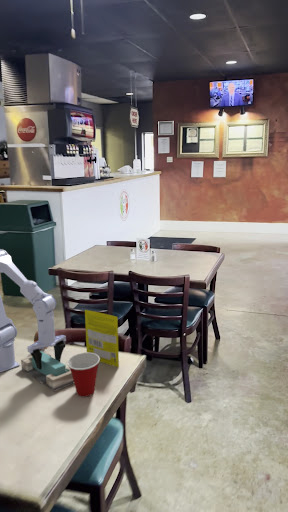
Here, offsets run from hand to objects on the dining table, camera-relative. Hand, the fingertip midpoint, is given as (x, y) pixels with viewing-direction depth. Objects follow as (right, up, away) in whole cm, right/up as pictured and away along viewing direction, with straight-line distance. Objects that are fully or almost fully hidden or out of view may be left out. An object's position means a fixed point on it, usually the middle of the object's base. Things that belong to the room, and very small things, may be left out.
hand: (48, 365), depth 157 cm
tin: (-7, +1, +25) cm, 26 cm away
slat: (0, -3, +1) cm, 3 cm away
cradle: (0, -4, +1) cm, 4 cm away
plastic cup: (+15, -7, -11) cm, 20 cm away
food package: (+18, -2, +10) cm, 21 cm away
